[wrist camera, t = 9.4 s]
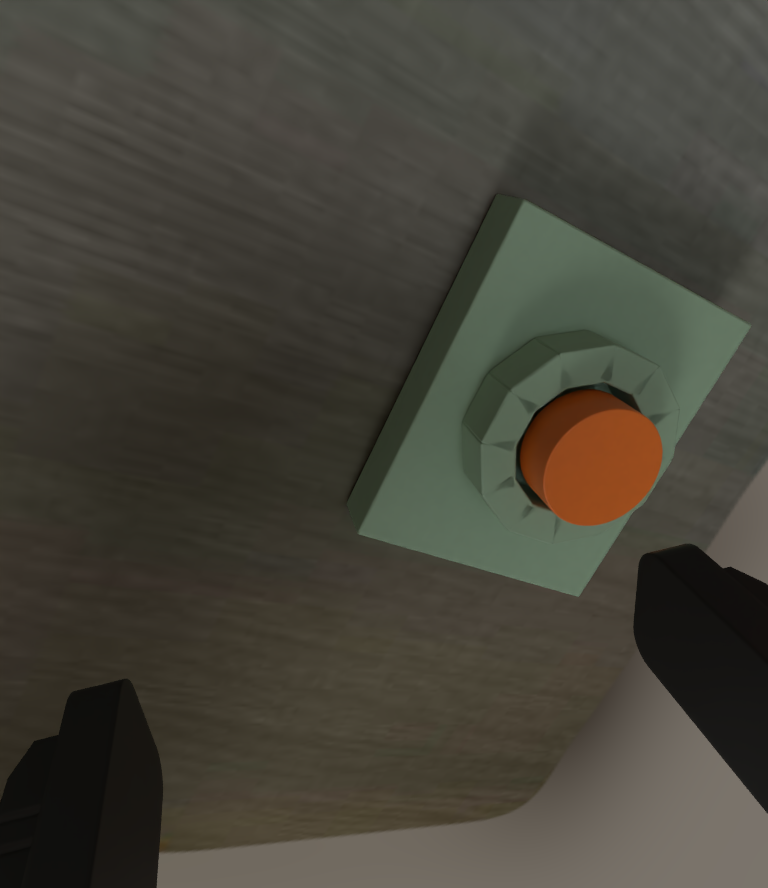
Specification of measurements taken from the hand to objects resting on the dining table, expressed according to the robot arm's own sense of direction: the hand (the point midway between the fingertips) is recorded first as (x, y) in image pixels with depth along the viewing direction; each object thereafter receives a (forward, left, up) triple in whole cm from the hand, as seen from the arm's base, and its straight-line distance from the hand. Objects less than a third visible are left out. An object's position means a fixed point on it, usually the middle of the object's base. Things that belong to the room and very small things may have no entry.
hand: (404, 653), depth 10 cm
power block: (-3, -8, -14) cm, 16 cm away
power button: (-3, -8, -10) cm, 13 cm away
